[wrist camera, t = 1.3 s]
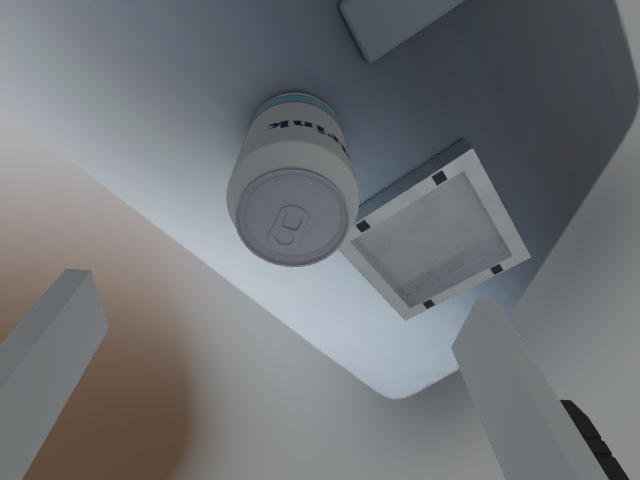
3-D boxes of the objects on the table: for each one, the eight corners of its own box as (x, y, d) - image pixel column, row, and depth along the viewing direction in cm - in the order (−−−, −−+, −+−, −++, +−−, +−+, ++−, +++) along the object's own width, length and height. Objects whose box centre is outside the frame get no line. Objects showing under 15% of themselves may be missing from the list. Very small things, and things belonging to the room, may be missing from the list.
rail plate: (328, 226, 32) (329, 240, 30) (462, 138, 28) (473, 148, 26) (400, 306, 38) (405, 321, 36) (520, 244, 34) (531, 257, 32)
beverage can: (357, 111, 26) (390, 186, 16) (321, 190, 30) (330, 290, 20) (266, 72, 24) (242, 130, 15) (239, 161, 28) (205, 255, 18)
